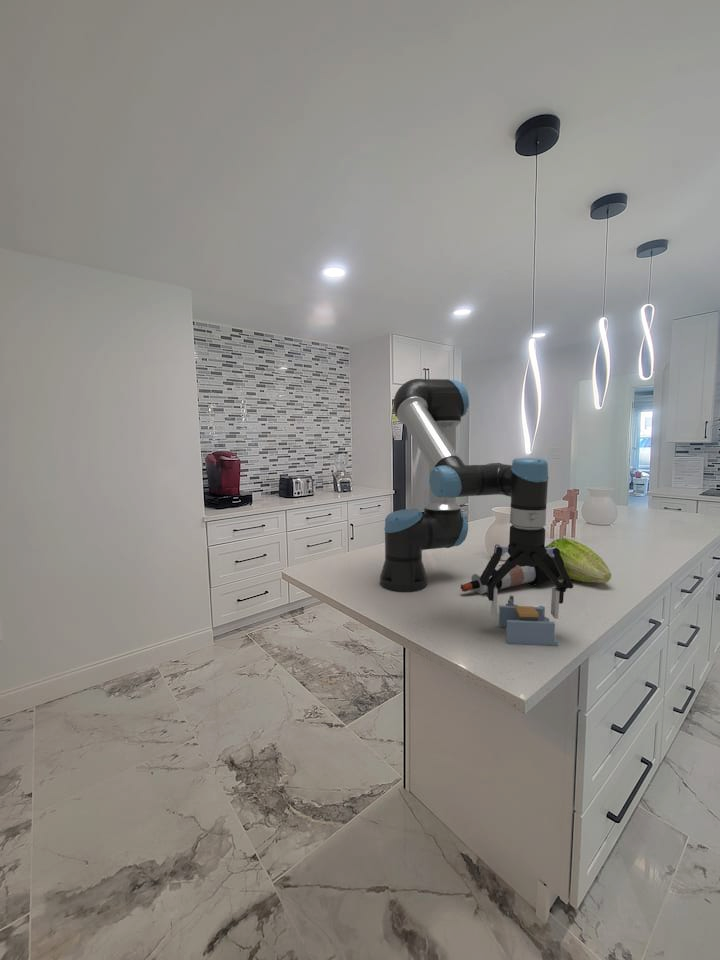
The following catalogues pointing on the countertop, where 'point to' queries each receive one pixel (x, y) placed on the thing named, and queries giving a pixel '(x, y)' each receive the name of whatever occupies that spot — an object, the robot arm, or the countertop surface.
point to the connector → (526, 613)
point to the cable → (516, 576)
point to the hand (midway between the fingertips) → (523, 614)
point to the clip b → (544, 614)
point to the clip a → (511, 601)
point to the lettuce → (581, 561)
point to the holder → (526, 628)
